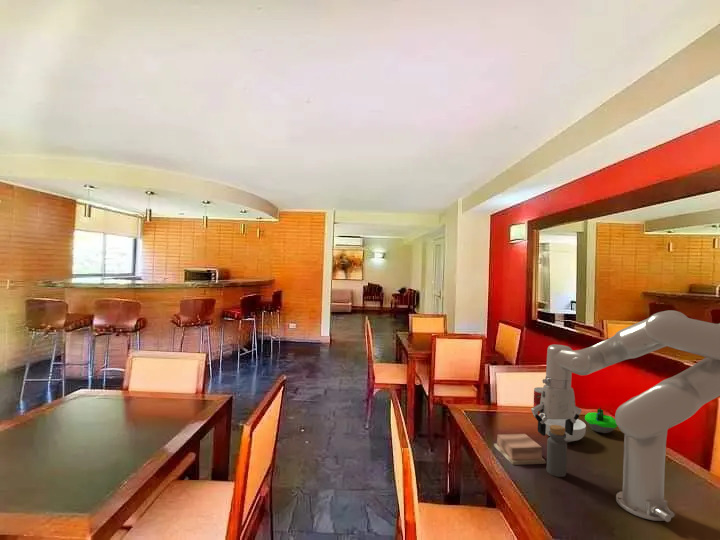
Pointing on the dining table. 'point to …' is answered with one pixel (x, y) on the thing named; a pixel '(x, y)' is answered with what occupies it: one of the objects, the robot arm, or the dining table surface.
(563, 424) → the cereal bowl
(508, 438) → the pedestal
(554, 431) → the bottle
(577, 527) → the dining table surface
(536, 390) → the canned food
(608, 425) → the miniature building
